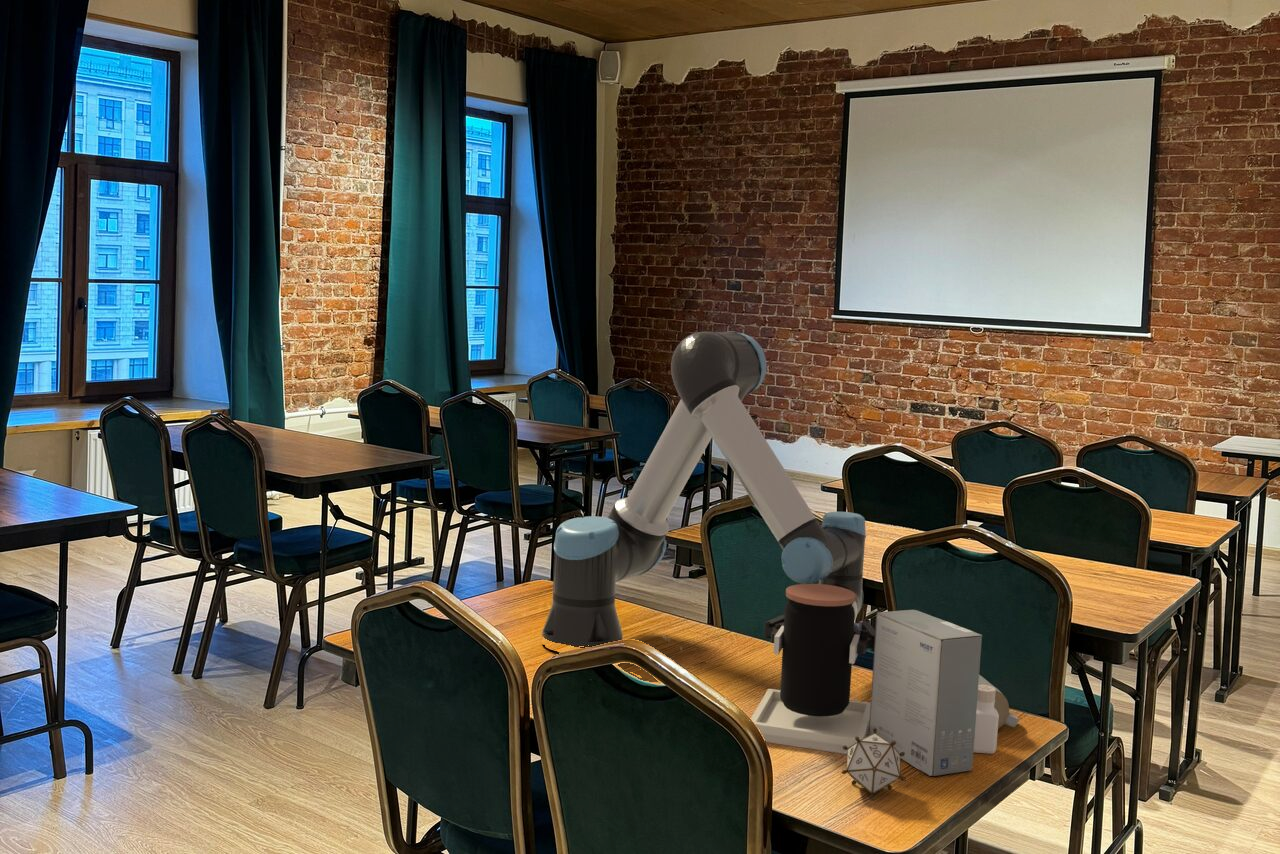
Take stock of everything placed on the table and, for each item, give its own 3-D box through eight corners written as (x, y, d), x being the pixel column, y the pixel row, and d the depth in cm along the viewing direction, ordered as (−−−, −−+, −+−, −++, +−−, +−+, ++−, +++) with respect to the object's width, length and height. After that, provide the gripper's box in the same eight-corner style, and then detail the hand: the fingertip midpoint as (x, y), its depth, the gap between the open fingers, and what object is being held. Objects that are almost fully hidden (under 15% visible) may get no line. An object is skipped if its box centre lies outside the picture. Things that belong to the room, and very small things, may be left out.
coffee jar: (863, 710, 178) (870, 595, 177) (814, 722, 172) (821, 603, 170) (813, 690, 187) (819, 580, 185) (764, 701, 180) (771, 588, 179)
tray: (747, 739, 174) (748, 723, 174) (767, 703, 190) (768, 688, 190) (861, 756, 169) (863, 739, 169) (872, 718, 186) (873, 703, 185)
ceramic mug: (968, 736, 180) (973, 688, 179) (942, 717, 187) (946, 671, 187) (1029, 734, 182) (1033, 686, 181) (1000, 715, 190) (1004, 669, 189)
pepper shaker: (969, 753, 172) (974, 691, 171) (963, 743, 176) (968, 682, 175) (996, 755, 172) (1001, 693, 171) (990, 745, 176) (995, 684, 175)
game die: (884, 820, 157) (930, 776, 152) (834, 804, 154) (879, 759, 149) (868, 765, 164) (911, 722, 160) (819, 750, 161) (862, 705, 156)
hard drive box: (974, 772, 165) (985, 635, 163) (931, 779, 162) (941, 639, 160) (906, 733, 180) (915, 607, 177) (865, 739, 176) (874, 610, 174)
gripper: (901, 644, 193) (890, 684, 172) (763, 628, 199) (737, 664, 178) (904, 600, 192) (894, 634, 171) (765, 585, 198) (739, 616, 177)
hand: (813, 650), depth 174 cm, fingers closed on coffee jar, 11 cm apart
